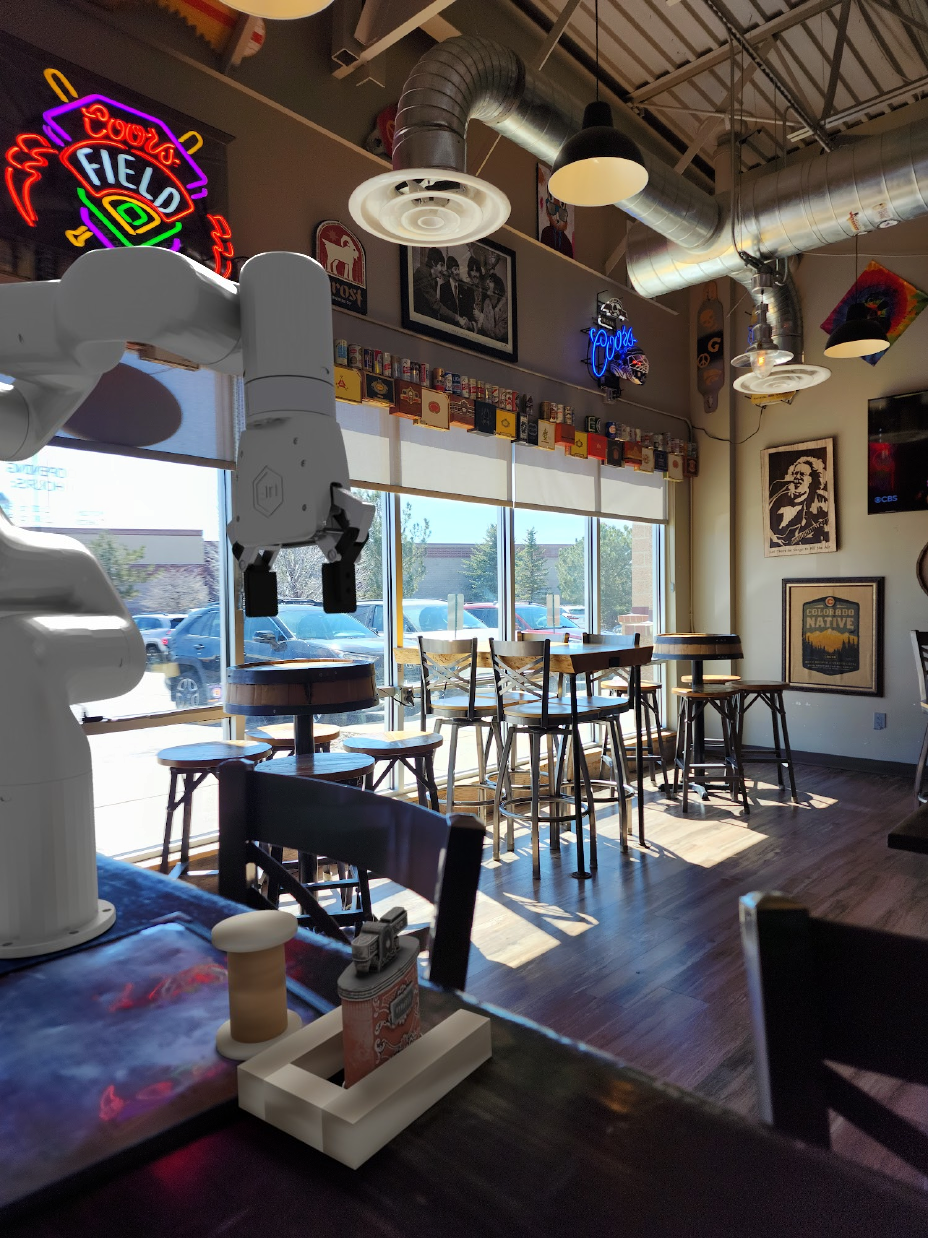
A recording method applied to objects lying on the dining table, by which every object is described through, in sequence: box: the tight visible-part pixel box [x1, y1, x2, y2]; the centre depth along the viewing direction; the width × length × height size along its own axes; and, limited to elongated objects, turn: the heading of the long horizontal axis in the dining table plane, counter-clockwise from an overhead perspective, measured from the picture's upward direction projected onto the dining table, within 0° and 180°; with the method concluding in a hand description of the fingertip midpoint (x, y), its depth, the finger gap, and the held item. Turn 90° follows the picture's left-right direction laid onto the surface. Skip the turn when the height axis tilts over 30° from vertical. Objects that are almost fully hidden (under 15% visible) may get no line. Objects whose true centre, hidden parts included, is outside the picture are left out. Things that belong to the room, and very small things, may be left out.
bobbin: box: [210, 909, 303, 1061], centre depth 57 cm, size 6×6×8 cm
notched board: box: [236, 1004, 493, 1171], centre depth 51 cm, size 10×13×2 cm
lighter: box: [337, 906, 424, 1090], centre depth 51 cm, size 8×3×10 cm, turn 158°
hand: (299, 615), depth 66 cm, fingers open, 9 cm apart
